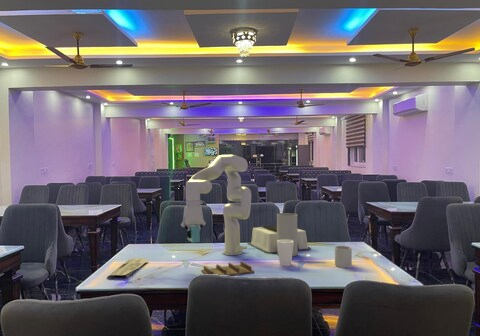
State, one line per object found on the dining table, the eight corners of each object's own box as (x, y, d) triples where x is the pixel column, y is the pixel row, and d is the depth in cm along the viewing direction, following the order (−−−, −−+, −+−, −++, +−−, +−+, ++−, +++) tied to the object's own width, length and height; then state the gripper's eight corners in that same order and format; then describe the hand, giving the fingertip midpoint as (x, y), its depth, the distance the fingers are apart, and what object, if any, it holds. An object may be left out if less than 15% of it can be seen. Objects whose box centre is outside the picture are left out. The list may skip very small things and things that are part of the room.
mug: (342, 268, 199) (342, 249, 199) (330, 264, 207) (330, 246, 207) (357, 265, 204) (357, 247, 204) (345, 262, 212) (345, 244, 212)
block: (194, 238, 206) (194, 224, 206) (199, 241, 198) (199, 226, 198) (187, 239, 205) (187, 225, 205) (192, 242, 197) (192, 227, 196)
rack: (242, 266, 206) (242, 260, 206) (254, 272, 193) (254, 266, 193) (201, 271, 196) (201, 265, 196) (210, 278, 183) (210, 272, 183)
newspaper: (128, 262, 219) (128, 256, 219) (149, 262, 219) (149, 256, 219) (105, 280, 184) (105, 273, 184) (131, 280, 184) (130, 273, 184)
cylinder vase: (274, 256, 228) (274, 215, 228) (280, 251, 240) (280, 212, 240) (294, 257, 223) (294, 216, 223) (299, 253, 235) (299, 213, 235)
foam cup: (295, 262, 212) (295, 240, 212) (292, 267, 203) (291, 243, 203) (278, 261, 215) (278, 239, 215) (275, 265, 206) (274, 242, 206)
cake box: (247, 244, 266) (246, 226, 266) (287, 240, 278) (287, 223, 278) (268, 254, 234) (267, 235, 234) (313, 250, 246) (313, 231, 245)
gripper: (205, 202, 208) (206, 235, 208) (176, 203, 201) (176, 237, 201) (210, 203, 201) (210, 237, 201) (179, 205, 194) (180, 240, 195)
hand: (193, 237), depth 201 cm, fingers closed on block, 4 cm apart
